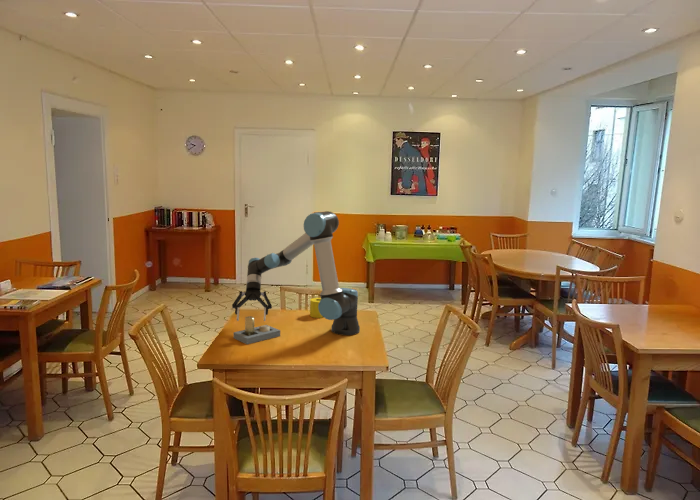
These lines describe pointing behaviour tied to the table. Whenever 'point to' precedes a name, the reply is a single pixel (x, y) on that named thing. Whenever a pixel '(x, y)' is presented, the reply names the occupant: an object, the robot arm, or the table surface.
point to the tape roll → (315, 308)
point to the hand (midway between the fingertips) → (251, 320)
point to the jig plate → (256, 335)
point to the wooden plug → (264, 328)
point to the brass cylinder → (249, 326)
